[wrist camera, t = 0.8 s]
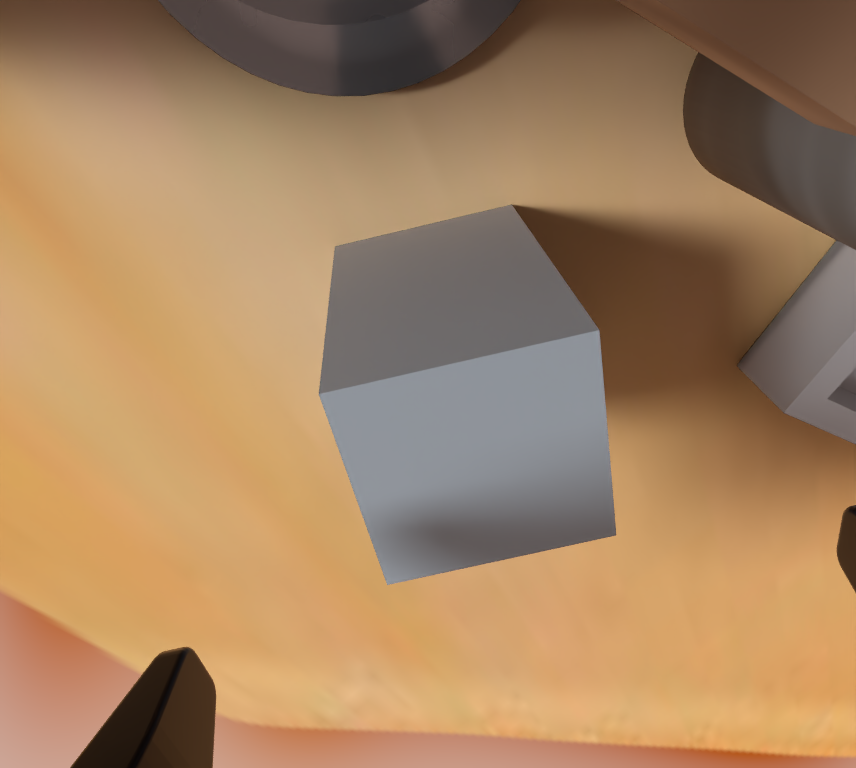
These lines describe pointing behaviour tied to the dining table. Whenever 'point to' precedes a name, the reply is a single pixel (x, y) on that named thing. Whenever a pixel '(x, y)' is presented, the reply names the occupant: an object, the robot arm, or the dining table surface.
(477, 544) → the block
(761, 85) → the crank arm
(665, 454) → the dining table surface
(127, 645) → the dining table surface
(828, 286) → the tray
